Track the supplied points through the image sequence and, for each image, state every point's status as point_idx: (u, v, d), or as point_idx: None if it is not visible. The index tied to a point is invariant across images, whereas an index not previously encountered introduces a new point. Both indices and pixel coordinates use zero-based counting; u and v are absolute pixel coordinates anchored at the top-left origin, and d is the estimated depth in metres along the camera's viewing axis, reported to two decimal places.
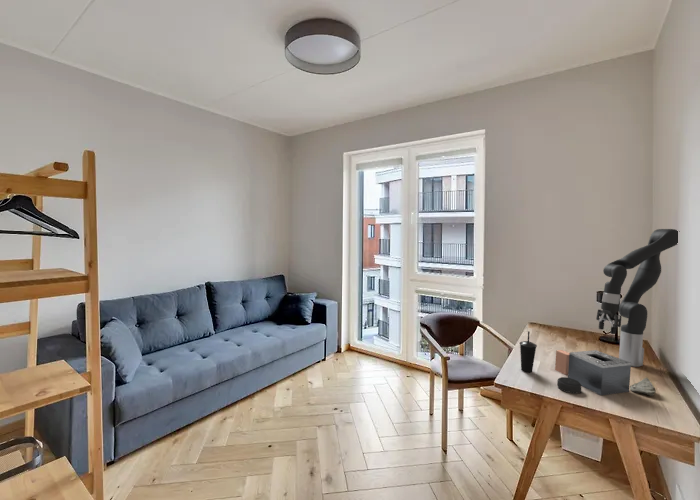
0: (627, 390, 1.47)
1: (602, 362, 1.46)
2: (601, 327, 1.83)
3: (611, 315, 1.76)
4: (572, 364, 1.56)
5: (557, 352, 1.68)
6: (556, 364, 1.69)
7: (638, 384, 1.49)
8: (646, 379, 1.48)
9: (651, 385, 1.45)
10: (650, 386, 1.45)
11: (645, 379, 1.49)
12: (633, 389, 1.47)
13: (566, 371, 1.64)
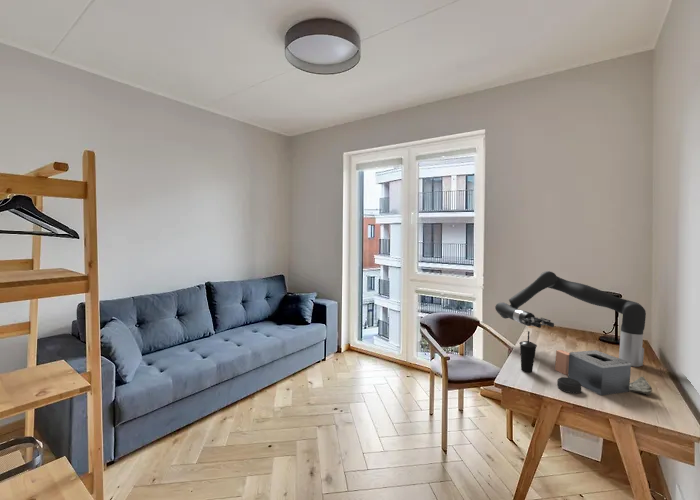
0: (627, 390, 1.47)
1: (602, 362, 1.46)
2: (551, 324, 1.78)
3: None
4: (572, 364, 1.56)
5: (557, 352, 1.68)
6: (556, 364, 1.69)
7: (634, 383, 1.50)
8: (642, 378, 1.49)
9: (647, 384, 1.45)
10: (646, 385, 1.45)
11: (641, 378, 1.50)
12: (630, 388, 1.48)
13: (566, 371, 1.64)
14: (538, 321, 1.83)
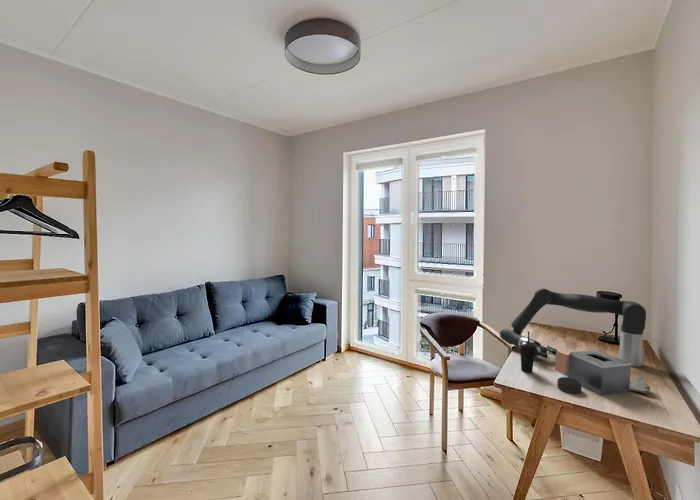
0: (627, 390, 1.47)
1: (602, 362, 1.46)
2: None
3: None
4: (572, 364, 1.56)
5: (557, 352, 1.68)
6: (556, 364, 1.69)
7: (632, 383, 1.51)
8: (640, 377, 1.50)
9: (645, 383, 1.46)
10: (644, 384, 1.46)
11: (639, 377, 1.50)
12: None
13: (566, 371, 1.64)
14: (544, 350, 1.79)
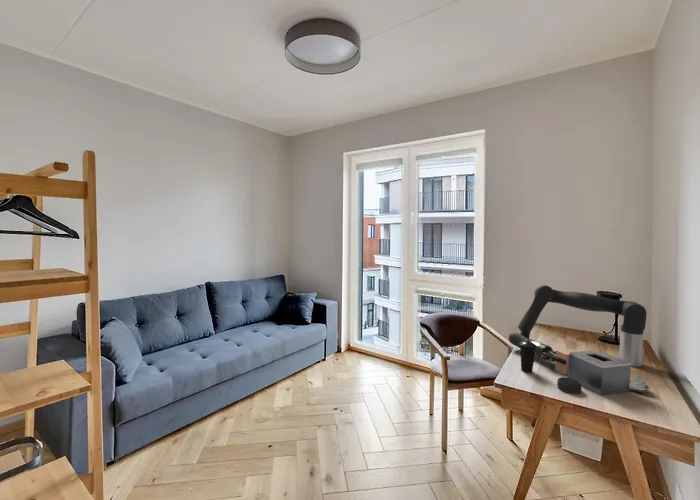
0: (627, 390, 1.47)
1: (602, 362, 1.46)
2: None
3: None
4: (572, 364, 1.56)
5: (557, 352, 1.68)
6: (556, 364, 1.69)
7: (631, 382, 1.51)
8: (639, 377, 1.50)
9: (644, 383, 1.47)
10: (643, 384, 1.47)
11: (638, 377, 1.51)
12: None
13: (566, 371, 1.64)
14: None
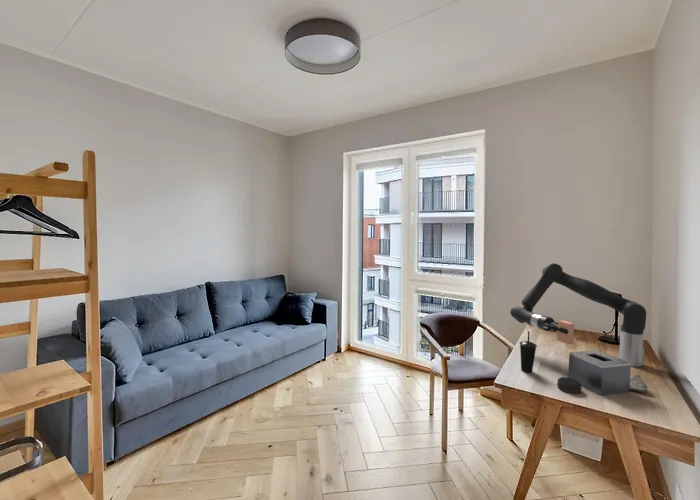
0: (627, 390, 1.47)
1: (602, 362, 1.46)
2: None
3: None
4: (572, 364, 1.56)
5: (559, 322, 1.67)
6: (558, 334, 1.68)
7: None
8: (637, 376, 1.51)
9: (643, 382, 1.47)
10: (642, 383, 1.47)
11: (636, 376, 1.52)
12: None
13: (568, 340, 1.63)
14: None
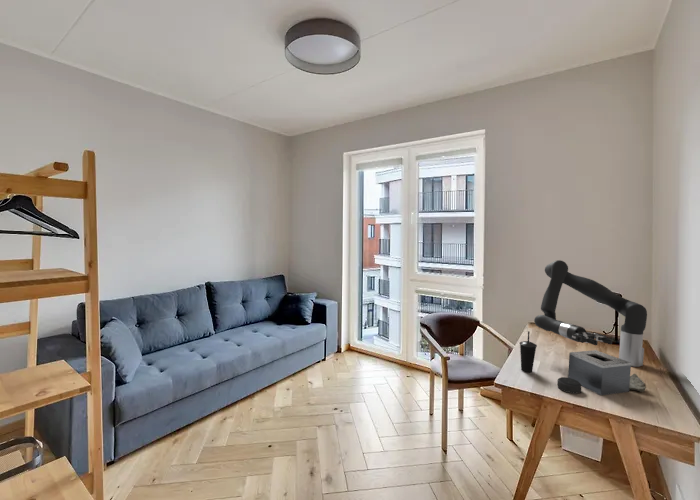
0: (627, 390, 1.47)
1: (602, 362, 1.46)
2: (608, 341, 1.52)
3: None
4: (572, 364, 1.56)
5: None
6: None
7: None
8: (634, 375, 1.52)
9: (641, 381, 1.48)
10: (640, 382, 1.48)
11: (633, 375, 1.53)
12: None
13: None
14: (592, 337, 1.56)
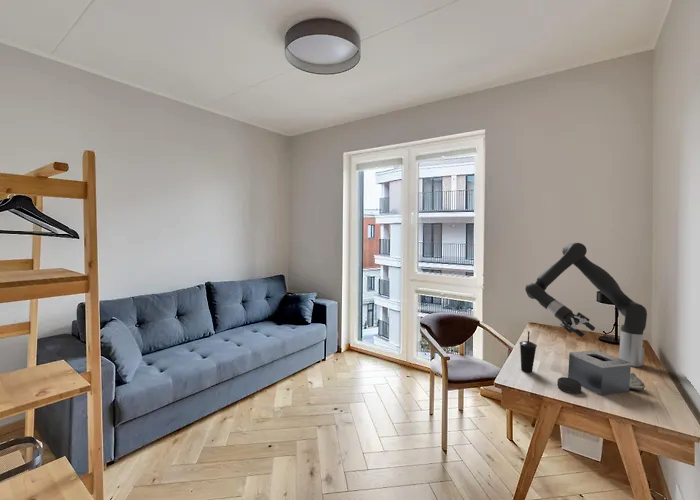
0: (627, 390, 1.47)
1: (602, 362, 1.46)
2: (591, 328, 1.67)
3: None
4: (572, 364, 1.56)
5: None
6: None
7: None
8: (632, 374, 1.53)
9: (639, 380, 1.49)
10: (639, 381, 1.49)
11: (631, 374, 1.53)
12: None
13: None
14: (578, 322, 1.69)
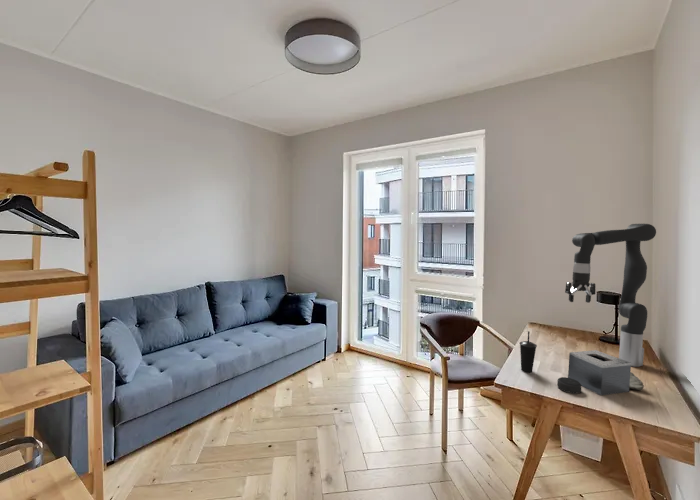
0: (627, 390, 1.47)
1: (602, 362, 1.46)
2: (586, 300, 1.77)
3: None
4: (572, 364, 1.56)
5: None
6: None
7: None
8: (631, 374, 1.54)
9: (638, 380, 1.50)
10: (637, 381, 1.50)
11: (630, 374, 1.54)
12: None
13: None
14: (581, 290, 1.76)
